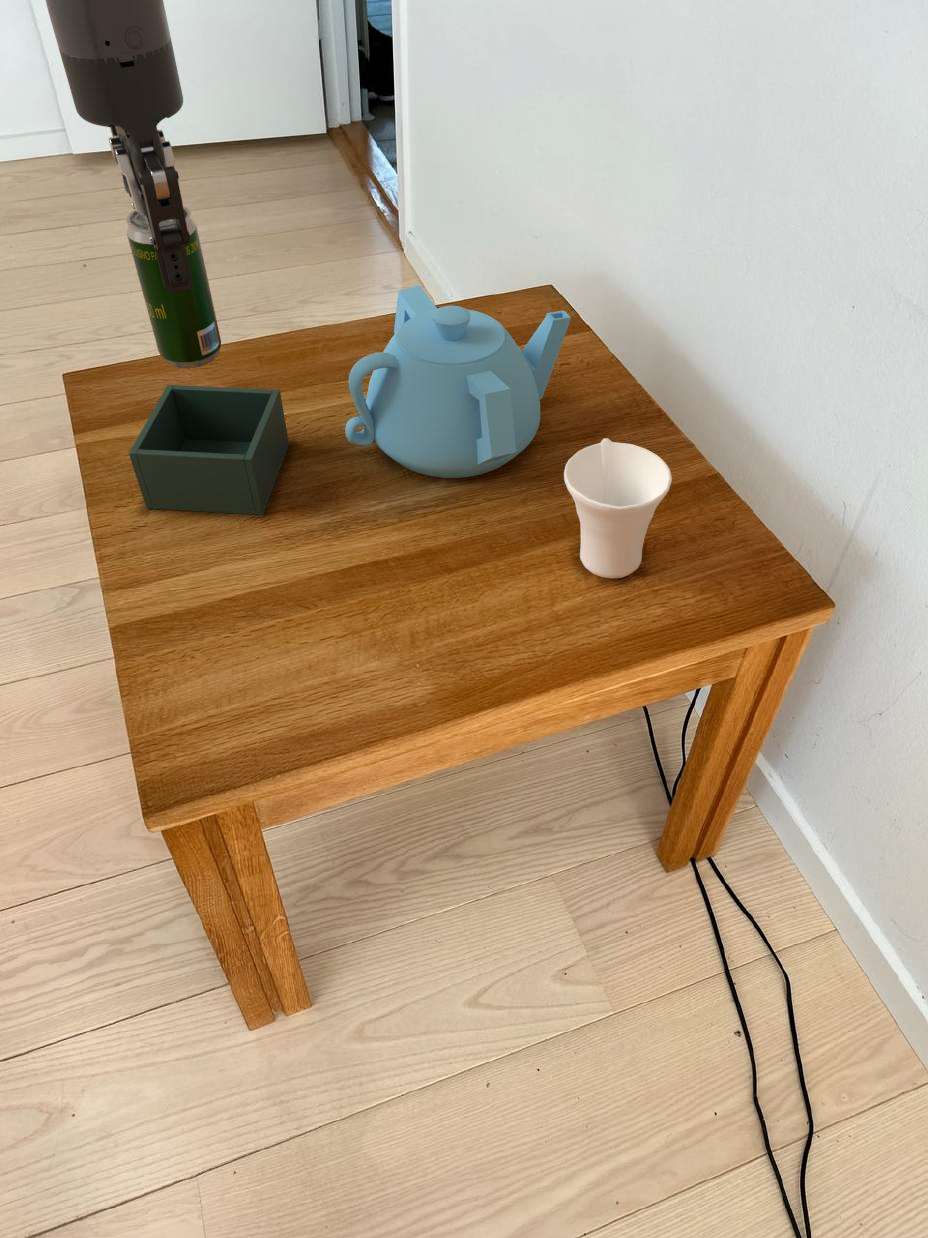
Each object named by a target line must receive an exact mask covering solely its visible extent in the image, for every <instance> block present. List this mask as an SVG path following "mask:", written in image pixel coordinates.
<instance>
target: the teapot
mask: <svg viewBox="0 0 928 1238" xmlns="http://www.w3.org/2000/svg"><path fill="white" fill-rule="evenodd" d="M395 309H396V310H395V317H394V318H395V319H394V328H393V333H394V334H393V336H392V337H391V339H390V340H389V342H388V343H387V344H386V346H385V348H384V350H383V351H381V352H380V351H379V352H373V353H370V354H367V355H365V356H364V357H361V358H360V359H359V360H357V361H356V363H354V365H353V366H352V368H351V370H350V372H349V375H348V388H349V393H350V396H351V399H352V401H353V404H354V406H355V407H356V410H357V413H358V414H359V416H353V417H351V418H350V419H349V420H348V421H347V422H346V425H345V427H344V428H345V429H344V434H345V437H346V439H347V441H348V442H349V443H350V444H352V445H355V446H358V447H367V446H370V445H371V444H373V443H375V444H376V445H377V448H379V449H380V450H381V451H382V452H383V453H385V454H386V455H387V456H388V457H390V459H392V460H394V461H395V462H396V463H398V464H399V465H401V466H402V467H404V468H406V469H408V470H410V471H412V472H415V473H418V474H421V475H424V476H427V477H433V478H441V479H460V478H461V479H463V478H469V477H470V478H471V477H476V476H478V475H479V476H480V475H483V474H487V473H490V472H492V471H494V470H496V469H499V468H501V467H503V466H504V465H506V464H507V463H508V462H510V461H512V460H513V459H514V458H515V457H517V456H519V454H520V453H522V452H523V451H524V450H525V449H526V448H527V447H528V446H529V445H530V444H531V443H532V441H533V440H534V438H535V436H536V434H537V432H538V430H539V427H540V423H541V400H542V399H543V397H544V395H545V392H546V389H547V386H548V384H549V381H550V378H551V375H552V373H553V370H554V367H555V364H556V362H557V359H558V356H559V353H560V351H561V348H562V345H563V342H564V340H565V337H566V335H567V331H568V328H569V326H570V323H571V319H572V318H571V315H570V314H568V313H567V312H566V310H558V311H550V312H546V313H545V317H544V319H543V320H542V322H540V324H539V326H538V327H537V329H536V330H535V332H534V333H533V334H532V336H531V338H529V340H528V341H527V343H526V344H525V346H524V347H523V349H522V350H521V349H520V347H519V346H518V344H517V343H516V341H515V340H514V338H513V336H512V335H511V334H510V333H509V332H508V330H507V329H506V328H505V327H504V325H503V324H502V323H501V322H500V321H498V320H496V319H495V318H494V317H492V316H491V315H489V314H486V313H483V312H481V311H477V310H473V309H467V308H465V307H463V306H459V305H445V306H441V307H438V308H437V306H436V305H435V303H434V302H433V301H432V299H431V298H430V297H429V296H428V294H427V293H426V291H425V290H424V289H423V287H422V286H421V284H418V285H413V286H411V287H406V288H403V289H402V288H401V289H399V290H398V291H397V299H396V308H395ZM370 373H372V374H371V376H370V379H369V383H368V388H367V393H366V397H365V396H364V393H363V380H364V379H365V378H366V377H367V376H368V375H369V374H370ZM358 427H363V429H362V430H360V431H356V429H357V428H358Z"/></svg>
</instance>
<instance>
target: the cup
mask: <svg viewBox="0 0 928 1238" xmlns="http://www.w3.org/2000/svg"><path fill="white" fill-rule="evenodd" d="M563 478H564V479H563V480H564V483H565V487H566V489H567V491H568V492H569V494H570V496H571V497H572V499H573V501H574V503H575V510H576V514H577V516H578V519H579V523H580V524H579V525H580V526H579V527H580V549H579V559H580V561H581V563H582V565H583V567H584V568H585V569H587V570H588V571H589V572H590V573H591V574H593V575H595V576H598V577H601V578H603V579H604V578H605V579H611V580H612V579H621V578H626V577H627V576H630V575H631V574H632V573H634V572H635V571H636V570H638V569H639V567H640V566H641V564H642V562H643V561H642V559H643V547H644V542H645V538H646V534H647V533H648V528H649V525H650V523H651V521H652V519H653V518H654V514H655V511H656V509H657V507H658V506H659V504H660V503H661V502H662V500H664V498H665V497H666V496H667V494H668V492H669V491H670V489H671V485H672V481H673V477H672V471H671V469H670V467H669V465H668V464H667V463H666V461H665V460H663V458H662V457H660V456H659V455H657V454H656V453H654V452H652V451H650V450H649V449H647V448H645V447H642V446H638V445H635V444H632V443H625V442H617V441H616V442H615V441H612V440H611V439H610V438H608V437H606V438H603V439H602V440H601V441H600V442H598V443H595V444H592V445H589V446H586V447H584V448H582V449H580V450H578V451H577V452H576V453H574V454H573V455H572V456H571V457H570V458H569V459H568V461H567V462H566V463H565V467H564V471H563Z"/></svg>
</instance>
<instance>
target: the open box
mask: <svg viewBox="0 0 928 1238" xmlns="http://www.w3.org/2000/svg"><path fill="white" fill-rule="evenodd" d="M289 446H290V441H289V435H288V429H287V424H286V417H285V412H284V406H283V400H282V394H281V390H280V389H268V388H265V389H264V388H245V387H223V386H205V385H204V386H203V385H202V386H201V385H180V384H177V385H176V384H166V386H165V388H164V390H163V391H162V393H161V394H160V397H159V399H158V400H157V402H156V404H155V406H154V408H153V409H152V411H151V412H150V415H149V416H148V417H147V419H146V421H145V423H144V425H143V427H142V429H141V431H140V432H139V434H138V436H137V438H136V439H135V441H134V443H133V444H132V446H131V448H130V451H129V452H128V455H129V459H130V462H131V465H132V468H133V471H134V474H135V477H136V480H137V483H138V487H139V489H140V492H141V493H140V494H141V495H142V499H143V502H144V504H145V508H146V509H148V510H166V511H185V512H205V513H222V514H236V515H237V514H239V515H257V516H264V513H265V511H266V508H267V505H268V503H269V499H270V497H271V494H272V492H273V490H274V486H275V484H276V481H277V478H278V476H279V472H280V470H281V468H282V465H283V463H284V459H285V456H286V454H287V451H288V448H289Z"/></svg>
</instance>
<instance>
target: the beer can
mask: <svg viewBox="0 0 928 1238" xmlns="http://www.w3.org/2000/svg"><path fill="white" fill-rule="evenodd" d="M183 209H184V214H185V219H186V225H187V230H188V232H189V234H190V239H189V240H190V244H186V245H185V249H186V254H187V258H188V262H189V267H190V271H191V276H192V280H193V286H192V288H191V289H188V290H183V291H179V292H174V293H170V292H168V291H167V290H166V288H165V286H164V284H163V280H162V276H161V272H160V268H159V264H158V260H157V256H156V252H155V248H154V246H153V244H151V242H150V239H149V237H150V233H149V230H148V227H147V223H146V220H145V218H144V216H142V215H139V214H138V213H137V212H136V210H135V209H134V210H133V211H132V212H130V213H129V214H128V215H127V216H126V219H125V220H126V225H127V231H126V235H127V240H128V243H129V247H130V251H131V255H132V258H133V262H134V265H135V266H134V267H135V269H136V273H137V277H138V281H139V284H140V288H141V292H142V295H143V299H144V303H145V307H146V311H147V314H148V319H149V321H150V324H151V330H152V332H153V336H154V340H155V343H156V348H157V351H158V352H159V353H158V354H159V355H160V357H161V358H162V359H163V360H164V362H165V363H166V364H168V365H169V366H171V367H173V368H177V369H195V368H201V367H204V366H206V365H208V364H210V363H212V362H213V361H215V360H216V359H217V357H218V356H219V355H220V351H221V347H222V339H221V334H220V330H219V329H220V328H219V325H218V321H217V320H218V319H217V316H216V311H215V306H214V302H213V297H212V292H211V287H210V283H209V278H208V273H207V269H206V263H205V259H204V254H203V250H202V246H201V241H200V236H199V231H198V227H197V223H196V222H195V221H194V219H193V218H192V213H191V211H190V209H189V208H187V207H186V206H184V205H183ZM171 227H174V223H173V220H172V219H170V220H165V221H161V222H160V223H159V228H160V229H166V228H171Z"/></svg>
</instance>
